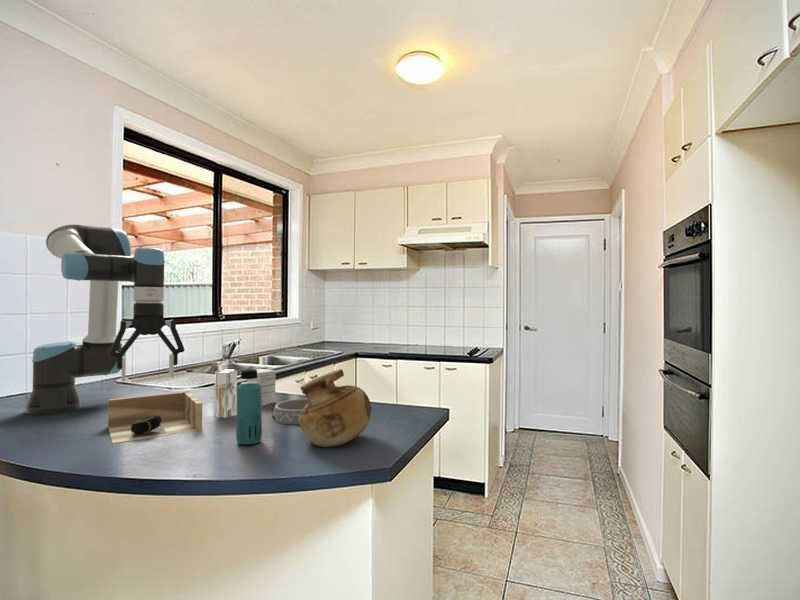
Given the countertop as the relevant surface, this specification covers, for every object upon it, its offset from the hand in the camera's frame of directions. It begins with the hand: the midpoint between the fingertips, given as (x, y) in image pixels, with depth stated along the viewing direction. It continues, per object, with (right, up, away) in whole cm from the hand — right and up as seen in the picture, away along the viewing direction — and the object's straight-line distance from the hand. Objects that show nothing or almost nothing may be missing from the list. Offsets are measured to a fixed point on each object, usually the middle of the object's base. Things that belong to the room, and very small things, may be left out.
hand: (147, 378), depth 129 cm
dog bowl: (+40, -16, +15) cm, 46 cm away
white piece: (+15, -16, +18) cm, 28 cm away
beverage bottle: (+33, -16, -11) cm, 38 cm away
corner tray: (0, -16, +3) cm, 16 cm away
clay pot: (+55, -16, -10) cm, 58 cm away
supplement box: (+22, -16, +35) cm, 44 cm away
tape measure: (+2, -15, 0) cm, 15 cm away
